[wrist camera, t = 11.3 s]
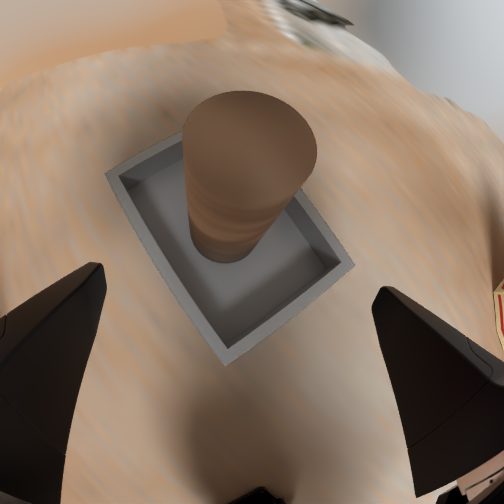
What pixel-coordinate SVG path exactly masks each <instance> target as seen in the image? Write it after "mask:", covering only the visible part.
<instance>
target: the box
mask: <svg viewBox="0 0 504 504" xmlns="http://www.w3.org/2000/svg"><path fill="white" fill-rule="evenodd" d="M182 134H183V131H181V132H179V133H177V134H175V135H173V136H171V137H169V138H167V139H165V140H163V141H161V142H159V143H157V144H155V145H153V146H151V147H149V148H147V149H146V150H144V151H142V152H140V153H138V154H137V155H135V156H133V157H131V158H130V159H128V160H126V161H124V162H123V163H121V164H119V165H118V166H116V167H114V168H113V169H111V170H109V171H108V172H106V173H105V176H106V178H107V180H108V182H109V184H110V186H111V188H112V190H113V192H114V193H115V195H116V197H117V199H118V201H119V203H120V205H121V207H122V209H123V211H124V212H125V214H126V216H127V218H128V220H129V222H130V223H131V225H132V227H133V229H134V231H135V232H136V234H137V236H138V238H139V239H140V241H141V243H142V244H143V246H144V248H145V250H146V251H147V253H148V255H149V256H150V258H151V260H152V261H153V263H154V265H155V266H156V268H157V269H158V271H159V273H160V274H161V276H162V278H163V279H164V281H165V282H166V284H167V285H168V287H169V289H170V290H171V292H172V293H173V295H174V296H175V298H176V299H177V301H178V302H179V304H180V305H181V307H182V308H183V310H184V311H185V313H186V314H187V316H188V317H189V319H190V320H191V322H192V323H193V324H194V326H195V327H196V329H197V330H198V332H199V333H200V334H201V336H202V337H203V339H204V340H205V341H206V343H207V344H208V345H209V347H210V348H211V350H212V351H213V352H214V354H215V355H216V356H217V358H218V359H219V360H220V362H221V363H222V364H223V366H224V367H225V366H227V365H228V364H230V363H231V362H233V361H234V360H236V359H237V358H238V357H240V356H241V355H243V354H244V353H245V352H247V351H248V350H250V349H251V348H252V347H254V346H255V345H257V344H258V343H259V342H261V341H262V340H263V339H265V338H266V337H267V336H269V335H270V334H271V333H273V332H274V331H275V330H277V329H278V328H279V327H281V326H282V325H283V324H285V323H286V322H287V321H288V320H290V319H291V318H292V317H294V316H295V315H296V314H297V313H299V312H300V311H301V310H303V309H304V308H305V307H306V306H308V305H309V304H310V303H311V302H312V301H314V300H315V299H316V298H317V297H319V296H320V295H321V294H322V293H323V292H325V291H326V290H327V289H328V288H329V287H331V286H332V285H333V284H334V283H335V282H337V281H338V280H339V279H340V278H341V277H342V276H344V275H345V274H346V273H347V272H348V271H349V270H351V269H352V268H353V267H354V266H355V264H354V262H353V261H352V259H351V258H350V256H349V255H348V253H347V252H346V250H345V249H344V248H343V246H342V245H341V243H340V242H339V240H338V239H337V237H336V236H335V235H334V233H333V232H332V230H331V229H330V228H329V226H328V225H327V223H326V222H325V221H324V219H323V218H322V216H321V215H320V214H319V212H318V211H317V210H316V208H315V207H314V206H313V204H312V203H311V202H310V200H309V199H308V198H307V196H306V195H305V194H304V192H303V191H302V190H301V188H300V189H299V190H298V191H297V193H296V194H295V195H294V196H293V198H292V199H291V200H290V202H289V203H288V204H287V206H286V207H285V208H284V210H283V211H282V212H281V213H280V215H279V216H278V217H277V219H276V220H275V221H274V223H273V224H272V225H271V227H270V228H269V229H268V231H267V232H266V233H265V234H264V236H263V237H262V238H261V240H260V241H259V242H258V244H257V245H256V246H255V248H254V249H253V250H252V252H251V253H250V254H249V255H248V256H246V257H245V258H243V259H242V260H239V261H237V262H234V263H227V264H226V263H217V262H213V261H211V260H209V259H207V258H205V257H204V256H202V255H201V254H200V253H199V252H198V251H197V249H196V248H195V246H194V245H193V242H192V240H191V236H190V228H189V218H188V208H187V198H186V186H185V174H184V160H183V144H182Z"/></svg>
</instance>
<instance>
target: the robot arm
mask: <svg viewBox="0 0 504 504" xmlns="http://www.w3.org/2000/svg"><path fill="white" fill-rule="evenodd" d="M106 291H107V284H106V279H105V273H104V267H103V265H102V264H101V263H96V262H89V263H87V264H85V265H84V266H82V267H80V268H79V269H77V270H75V271H73V272H72V273H70V274H68V275H67V276H65V277H63V278H62V279H60V280H58V281H57V282H55V283H54V284H52V285H50V286H49V287H47V288H46V289H44V290H42V291H41V292H39V293H38V294H36V295H35V296H33V297H31V298H30V299H28V300H27V301H25V302H24V303H22V304H21V305H19V306H18V307H16V308H15V309H13V310H12V311H10V312H9V313H8V314H7V315H4V316H3V317H2V318H0V504H60V503H61V490H62V480H63V472H64V464H65V457H66V455H65V454H66V450H67V444H68V439H69V433H70V428H71V423H72V419H73V414H74V410H75V406H76V402H77V397H78V394H79V390H80V386H81V382H82V379H83V375H84V372H85V368H86V365H87V361H88V358H89V355H90V352H91V349H92V346H93V343H94V339H95V336H96V333H97V329H98V324H99V320H100V316H101V311H102V307H103V303H104V300H105V296H106ZM372 314H373V318H374V322H375V327H376V331H377V335H378V340H379V344H380V348H381V351H382V355H383V358H384V361H385V364H386V367H387V371H388V374H389V378H390V381H391V384H392V388H393V392H394V395H395V399H396V403H397V406H398V410H399V414H400V418H401V422H402V427H403V431H404V435H405V440H406V445H407V448H408V455H409V460H410V466H411V471H412V477H413V483H414V490H415V495H416V498H418V497H420V496H423V495H425V494H427V493H430V492H432V491H434V490H436V489H439V488H441V487H443V486H445V485H447V484H449V483H451V482H453V481H455V480H456V481H457V485H455V486H454V487H452V488H451V489H449V490H447V491H446V492H444V493H443V494H441V495H439V497H438V499H437V502H436V504H504V362H503V361H501V360H500V359H498V358H497V357H495V356H494V355H492V354H491V353H489V352H488V351H486V350H485V349H483V348H482V347H480V346H479V345H478V344H476V343H475V342H473V341H472V340H471V339H469V338H468V337H466V336H465V335H464V334H462V333H461V332H459V331H458V330H456V329H455V328H454V327H452V326H451V325H449V324H448V323H446V322H445V321H443V320H442V319H441V318H439V317H438V316H436V315H435V314H433V313H432V312H430V311H429V310H427V309H426V308H424V307H423V306H421V305H420V304H418V303H417V302H415V301H414V300H412V299H411V298H409V297H408V296H406V295H405V294H403V293H402V292H400V291H399V290H397V289H395V288H394V287H391V286H383V287H381V288H380V290H379V292H378V294H377V296H376V298H375V300H374V302H373V304H372ZM261 491H264V492H263V493H260V492H261ZM229 504H290V503H289V502H288V501H286V500H285V499H284V498H282V497H279V498H277V497H276V496H275V495H274V494H272V493H271V492H270V491H269V490H268V489H266V488H265V487H259V488H257V489H255V490H253V491H252V492H250V493H248V494H246V495H244V496H243V497H241V498H239V499H237V500H235V501H233V502H231V503H229Z"/></svg>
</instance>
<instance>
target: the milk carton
mask: <svg viewBox="0 0 504 504" xmlns="http://www.w3.org/2000/svg"><path fill="white" fill-rule="evenodd" d="M493 293H494V302H495V312H496V327H497V333H498V336H499V338H500V341H501V344H502V347H503V350H504V279H503V281H502V282H501V283H500V284H499V286H498V287H497V288H496V289H495V291H494V292H493Z"/></svg>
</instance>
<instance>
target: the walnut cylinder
mask: <svg viewBox="0 0 504 504" xmlns="http://www.w3.org/2000/svg"><path fill="white" fill-rule="evenodd" d="M182 144H183V160H184V174H185V186H186V198H187V208H188V218H189V228H190V236H191V240H192V242H193V245H194V246H195V248H196V249H197V251H198V252H199V253H200V254H201V255H202V256H204V257H205V258H207V259H209V260H211V261H213V262H217V263H226V264H227V263H234V262H237V261H239V260H242V259H243V258H245V257H246V256H248V255H249V254H250V253H251V252H252V250H253V249H254V248H255V246H256V245H257V244H258V242H259V241H260V240H261V238H262V237H263V236H264V234H265V233H266V232H267V231H268V229H269V228H270V227H271V225H272V224H273V223H274V221H275V220H276V219H277V217H278V216H279V215H280V213H281V212H282V211H283V210H284V208H285V207H286V206H287V204H288V203H289V202H290V200H291V199H292V198H293V196H294V195H295V194H296V193H297V191H298V190H299V189H300V187H301V186H302V185H303V183H304V182H305V181H306V179H307V178H308V177H309V175H310V174H311V172H312V170H313V168H314V166H315V163H316V158H317V146H316V140H315V137H314V134H313V132H312V130H311V128H310V126H309V125H308V123H307V122H306V120H305V119H304V118H303V117H302V116H301V115H300V114H299V113H298V112H297V111H296V110H295V109H294V108H292V107H291V106H290V105H288V104H286V103H285V102H283V101H281V100H279V99H277V98H275V97H272V96H270V95H267V94H263V93H259V92H253V91H231V92H226V93H222V94H218V95H215V96H213V97H211V98H209V99H207V100H205V101H204V102H202V103H201V104H200V105H198V106H197V107H196V108H195V109H194V110H193V111H192V113H191V114H190V115H189V117H188V119H187V121H186V123H185V125H184V129H183V134H182Z"/></svg>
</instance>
